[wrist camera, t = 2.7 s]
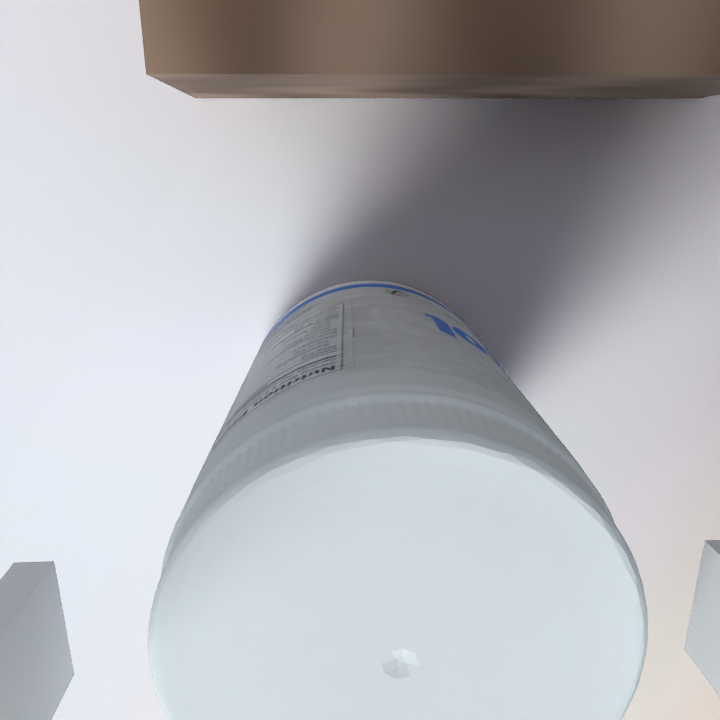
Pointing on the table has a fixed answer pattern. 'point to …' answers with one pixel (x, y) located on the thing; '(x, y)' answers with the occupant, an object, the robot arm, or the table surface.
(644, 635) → the supplement tub
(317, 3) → the walnut riser
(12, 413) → the table surface
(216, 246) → the table surface
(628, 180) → the table surface
